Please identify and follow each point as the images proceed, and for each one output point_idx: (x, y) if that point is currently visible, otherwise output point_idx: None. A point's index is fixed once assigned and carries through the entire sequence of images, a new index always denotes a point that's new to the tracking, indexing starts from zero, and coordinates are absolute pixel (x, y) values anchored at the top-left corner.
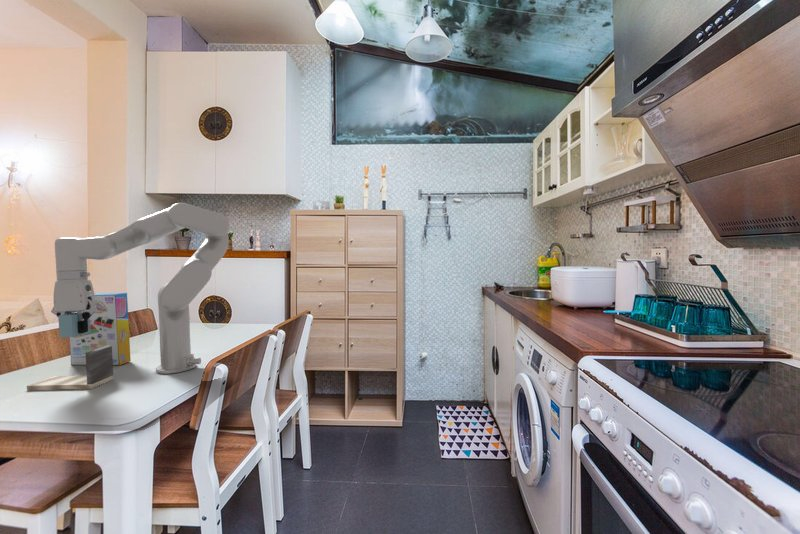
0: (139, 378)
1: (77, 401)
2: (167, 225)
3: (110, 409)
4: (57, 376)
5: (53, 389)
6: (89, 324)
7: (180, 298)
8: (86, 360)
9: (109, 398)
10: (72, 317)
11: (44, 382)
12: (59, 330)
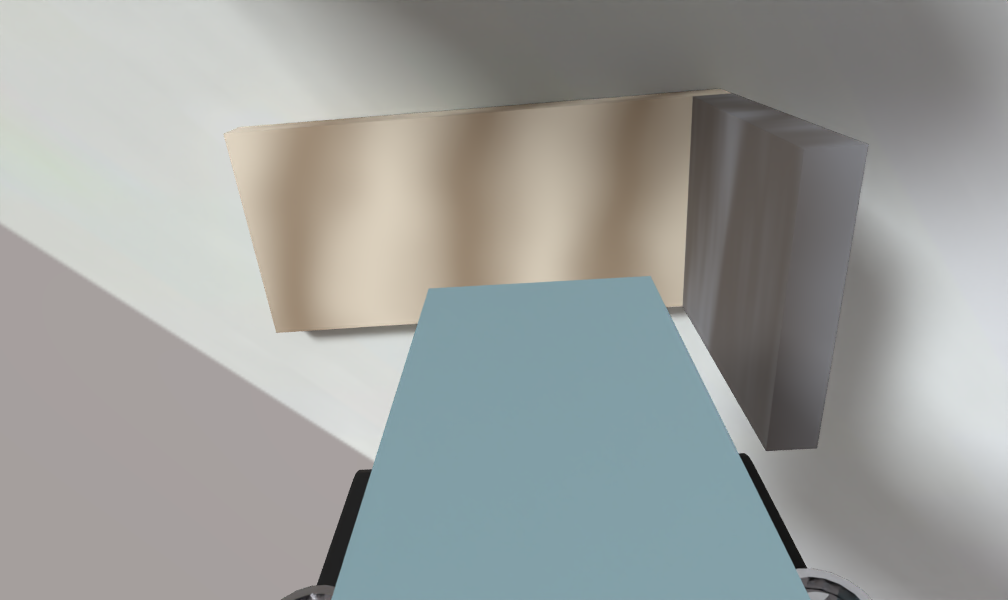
0: (932, 57)
1: (762, 452)
2: None
3: (1001, 527)
4: (273, 140)
5: None
6: (685, 366)
7: None
8: (743, 403)
9: (918, 417)
10: None
11: (327, 273)
12: None
